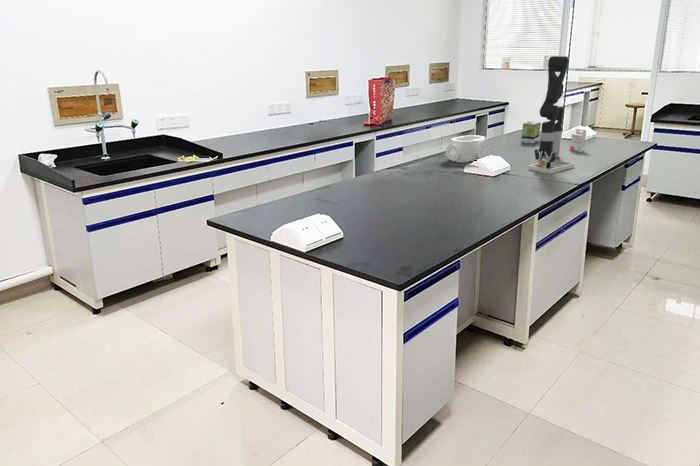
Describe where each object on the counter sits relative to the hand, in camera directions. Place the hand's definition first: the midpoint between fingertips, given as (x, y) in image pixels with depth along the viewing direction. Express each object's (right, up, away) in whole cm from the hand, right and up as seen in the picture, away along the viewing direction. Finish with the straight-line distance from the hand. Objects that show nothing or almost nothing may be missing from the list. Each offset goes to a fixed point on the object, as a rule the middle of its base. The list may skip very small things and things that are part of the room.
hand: (543, 167), depth 327 cm
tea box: (+22, +31, +92) cm, 100 cm away
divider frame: (+6, 0, +5) cm, 8 cm away
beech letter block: (0, -1, 0) cm, 1 cm away
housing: (-36, +10, +38) cm, 53 cm away
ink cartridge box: (+43, +18, +55) cm, 72 cm away
